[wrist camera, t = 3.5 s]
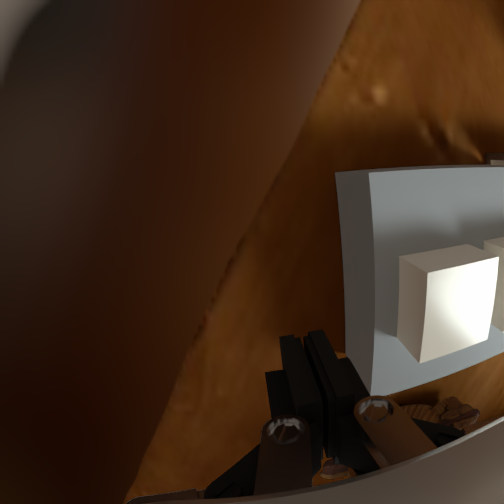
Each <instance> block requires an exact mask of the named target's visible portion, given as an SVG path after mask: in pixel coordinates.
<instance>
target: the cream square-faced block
mask: <svg viewBox="0 0 504 504" xmlns="http://www.w3.org/2000/svg"><path fill="white" fill-rule="evenodd" d="M483 250H484V251H487V252H489V253H492V254H494V255H496V256H499V263H498V274H497V283H496V291H495V298H494V305H493V311H492V317H491V324H492V325H493V326H495V327H496V328H498V329H499V330H500V331H502V332H503V333H504V237H500V238H495V239H490V240H485V241H484V245H483Z"/></svg>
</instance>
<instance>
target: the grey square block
mask: <svg viewBox="0 0 504 504" xmlns="http://www.w3.org/2000/svg"><path fill="white" fill-rule="evenodd" d="M335 179H336V188H337V197H338V207H339V218H340V230H341V243H342V258H343V276H344V299H345V354H346V356H347V357H348V358H349V359H350V360H351V362H352V364H353V365H354V367H355V369H356V371H357V372H358V374H359V376H360V378H361V379H362V381H363V383H364V385H365V387H366V388H367V390H368V392H369V394H370V396H375V395H380V396H385V395H389V394H392V393H396V392H399V391H402V390H406V389H409V388H412V387H415V386H418V385H421V384H424V383H427V382H430V381H433V380H436V379H439V378H441V377H444V376H447V375H450V374H452V373H455V372H457V371H460V370H463V369H465V368H467V367H470V366H472V365H475V364H477V363H479V362H482V361H484V360H486V359H489V358H491V357H493V356H495V355H497V354H500V353H502V352H504V333H503V332H502V331H500V330H499V329H498V328H496V327H495V326H493V325H492V324H491V323H490V328H489V333H488V338H487V340H485V341H482V342H480V343H477V344H474V345H472V346H469V347H467V348H464V349H461V350H458V351H456V352H453V353H450V354H447V355H444V356H441V357H438V358H435V359H432V360H429V361H426V362H423V363H420V364H419V363H418V362H417V360H416V359H415V358H414V357H413V356H412V355H411V353H410V352H409V351H408V350H407V349H406V348H405V346H404V345H403V344H402V343H401V342H400V341H399V339H398V338H397V325H398V306H399V256H403V255H409V254H415V253H420V252H426V251H431V250H437V249H442V248H448V247H453V246H459V245H464V244H469V245H472V246H474V247H477V248H479V249H482V250H483V245H484V241H485V240H490V239H495V238H500V237H504V165H437V166H414V167H396V168H381V169H367V170H355V171H343V172H335Z"/></svg>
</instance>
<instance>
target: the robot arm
mask: <svg viewBox="0 0 504 504" xmlns="http://www.w3.org/2000/svg"><path fill="white" fill-rule="evenodd" d="M279 339H280V348H281V356H282V365H283V370H277V371H271V372H265V376H266V383H267V390H268V397H269V404H270V410H271V417H272V419H270V420H269V421H267V422H266V423H265V425H264V426H263V428H262V431H261V440H260V444H258V445H257V446H256V447H255V448H254V449H253V450H252V451H250V452H249V453H248V454H247V455H246V456H244V457H243V458H242V459H241V460H240V461H238V462H237V463H236V464H235V465H234V466H232V467H231V468H230V469H229V470H227V471H226V472H225V473H224V474H222V475H221V476H220V477H218V478H217V479H216V480H215V481H213V482H212V483H211V484H210V485H209V486H208V487H207V488H206V489H203V490H198V491H197V490H196V488H194V489H188V490H183V491H177V492H171V493H164V494H157V495H149V496H141V497H137V498H133V499H132V500H130V501H128V502H127V504H504V415H501V416H498V417H495V418H491V419H488V420H484V421H481V422H477V423H474V424H470V425H466V426H463V427H462V430H459V429H457V428H454V427H451V426H446V425H442V424H437V423H433V422H428V421H424V420H420V419H416V418H411V417H409V416H408V415H407V414H406V413H405V412H404V411H403V410H402V409H401V407H400V406H399V405H398V404H397V403H396V402H395V401H394V400H392V399H391V398H388V397H386V396H380V395H375V396H370V394H369V392H368V390H367V388H366V387H365V385H364V383H363V381H362V379H361V378H360V376H359V374H358V372H357V371H356V369H355V367H354V365H353V364H352V362H351V360H350V359H349V358H348V357H346V358H342V359H338V358H337V356H336V354H335V352H334V350H333V348H332V346H331V344H330V343H329V341H328V339H327V337H326V335H325V333H324V331H323V330H317V331H311V332H308V336H304V338H303V339H304V348H303V345H302V342H301V339H300V337H298V338H295V337H294V335H288V336H282V337H279ZM323 447H324V450H325V454H326V457H327V458H330V457H332V458H333V462H334V465H336V464H342V465H344V466H347V467H348V471H349V474H350V476H351V477H352V478H348V479H344V480H340V481H336V482H332V483H328V484H323V485H318V486H313V487H312V478H313V476H314V475H315V474H316V473H317V472H318V471H319V470H320V468H321V459H323Z"/></svg>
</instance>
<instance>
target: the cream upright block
mask: <svg viewBox="0 0 504 504" xmlns="http://www.w3.org/2000/svg"><path fill="white" fill-rule="evenodd" d="M498 263H499V256H496V255H494V254H492V253H489V252H487V251H484V250H482V249H479V248H477V247H474V246H472V245H469V244H464V245H459V246H453V247H448V248H442V249H437V250H431V251H426V252H420V253H415V254H409V255H403V256H399V306H398V325H397V338H398V339H399V341H400V342H401V343H402V344H403V345H404V346H405V348H406V349H407V350H408V351H409V352H410V353H411V355H412V356H413V357H414V358H415V359H416V360H417V362H418V363H419V364H420V363H423V362H426V361H429V360H432V359H435V358H438V357H441V356H444V355H447V354H450V353H453V352H456V351H458V350H461V349H464V348H467V347H469V346H472V345H474V344H477V343H480V342H482V341H485V340H487V338H488V333H489V328H490V323H491V317H492V311H493V305H494V298H495V291H496V283H497V274H498Z"/></svg>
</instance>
